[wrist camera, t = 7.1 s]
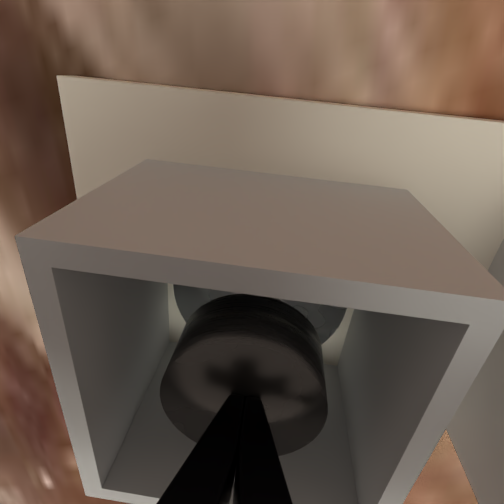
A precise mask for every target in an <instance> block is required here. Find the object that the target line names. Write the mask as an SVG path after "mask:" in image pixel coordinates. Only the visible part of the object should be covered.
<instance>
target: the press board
mask: <svg viewBox="0 0 504 504" xmlns="http://www.w3.org/2000/svg"><path fill="white" fill-rule="evenodd" d="M56 76H57V82H58V88H59V94H60V100H61V106H62V112H63V118H64V124H65V130H66V136H67V142H68V148H69V154H70V160H71V166H72V172H73V178H74V184H75V190H76V196H77V200H75V201H74V202H72V203H70V204H68V205H67V206H65V207H63V208H62V209H60V210H58V211H56V212H55V213H53V214H51V215H50V216H48V217H46V218H44V219H43V220H41V221H39V222H37V223H36V224H34V225H32V226H31V227H29V228H27V229H25V230H24V231H22V232H20V233H19V234H17V235H15V240H16V243H17V247H18V251H19V254H20V258H21V262H22V265H23V269H24V273H25V276H26V280H27V283H28V287H29V291H30V294H31V298H32V302H33V305H34V309H35V313H36V316H37V320H38V323H39V327H40V331H41V334H42V338H43V342H44V345H45V349H46V353H47V356H48V360H49V363H50V367H51V371H52V374H53V378H54V382H55V385H56V389H57V393H58V396H59V400H60V403H61V407H62V411H63V414H64V418H65V422H66V425H67V429H68V433H69V436H70V440H71V443H72V447H73V451H74V454H75V458H76V462H77V465H78V469H79V473H80V476H81V480H82V483H83V487H84V491H85V494H86V496H91V497H97V498H102V499H108V500H114V501H120V502H126V503H131V504H156V503H157V502H158V500H159V499H160V497H161V496H162V494H163V493H164V491H165V490H166V488H167V487H168V485H169V484H170V482H171V481H172V479H173V478H174V476H175V475H176V473H177V472H178V471H179V469H180V468H181V466H182V465H183V463H184V462H185V460H186V459H187V457H188V456H189V454H190V453H191V451H192V450H193V448H194V447H195V445H196V444H197V443H196V442H194V441H192V440H191V439H189V438H188V437H187V436H185V435H184V434H183V433H182V432H180V431H179V430H178V429H177V428H176V427H175V426H174V425H173V424H172V422H171V421H170V420H169V418H168V417H167V415H166V413H165V411H164V409H163V407H162V404H161V400H160V385H161V381H162V378H163V376H164V373H165V371H166V369H167V366H168V364H169V362H170V359H171V357H172V355H173V352H174V350H175V348H176V345H177V343H178V341H179V338H180V336H181V334H182V331H183V329H184V327H185V325H186V322H185V320H184V319H183V317H182V315H181V313H180V311H179V309H178V306H177V304H176V300H175V296H174V288H173V284H177V285H184V286H191V287H199V288H206V289H213V290H220V291H228V292H235V293H242V294H250V295H257V296H264V297H272V298H279V299H286V300H293V301H301V302H308V303H315V304H323V305H330V306H337V307H345V308H347V310H346V312H345V315H344V318H343V320H342V322H341V323H340V325H339V327H338V328H337V330H336V331H335V332H334V334H333V335H332V336H331V337H330V338H329V339H328V340H327V341H325V342H324V343H323V344H322V345H321V346H322V355H323V364H324V374H325V383H326V392H327V402H328V415H327V420H326V423H325V425H324V427H323V429H322V430H321V432H320V433H319V435H318V436H317V437H316V438H315V439H314V440H313V441H311V442H310V443H309V444H308V445H306V446H304V447H302V448H301V449H299V450H296V451H294V452H291V453H288V454H285V455H281V456H279V460H280V463H281V466H282V470H283V473H284V476H285V480H286V483H287V486H288V490H289V493H290V496H291V500H292V503H293V504H403V502H404V500H405V498H406V497H407V495H408V493H409V492H410V490H411V488H412V486H413V485H414V483H415V481H416V480H417V478H418V476H419V474H420V473H421V471H422V469H423V467H424V466H425V464H426V462H427V461H428V459H429V457H430V455H431V454H432V452H433V450H434V449H435V447H436V445H437V443H438V442H439V440H440V438H441V436H442V435H443V433H444V431H445V430H447V432H448V434H449V436H450V439H451V441H452V443H453V446H454V448H455V450H456V453H457V455H458V457H459V460H460V462H461V464H462V467H463V469H464V471H465V473H466V476H467V478H468V480H469V483H470V485H471V487H472V490H473V492H474V494H475V497H476V499H477V501H478V504H504V121H502V120H492V119H483V118H473V117H464V116H454V115H445V114H435V113H426V112H416V111H407V110H397V109H388V108H378V107H369V106H359V105H350V104H340V103H331V102H321V101H312V100H303V99H293V98H284V97H274V96H265V95H255V94H246V93H236V92H227V91H217V90H208V89H198V88H189V87H179V86H170V85H160V84H151V83H141V82H132V81H122V80H113V79H103V78H94V77H84V76H75V75H56ZM235 472H236V471H235ZM234 481H235V478H234ZM233 491H234V484H233V490H232V494H231V499H230V503H229V504H233Z"/></svg>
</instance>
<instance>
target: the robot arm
mask: <svg viewBox="0 0 504 504" xmlns="http://www.w3.org/2000/svg"><path fill="white" fill-rule="evenodd" d="M235 471H236V472H235ZM234 478H235V481H234ZM233 484H234V491H233V504H293V503H292V500H291V496H290V493H289V490H288V486H287V483H286V480H285V476H284V473H283V470H282V466H281V463H280V460H279V456H278V453H277V449H276V446H275V443H274V439H273V436H272V433H271V429H270V426H269V423H268V419H267V416H266V413H265V409H264V406H263V403H262V400H261V399H260V398H256V397H249V396H248V397H246V398H245V397H244V396H243V395H236V394H230V395H229V396H228V397H227V399H226V400H225V402H224V403H223V405H222V406H221V408H220V409H219V411H218V412H217V414H216V415H215V417H214V418H213V420H212V421H211V423H210V424H209V426H208V427H207V429H206V430H205V432H204V433H203V435H202V436H201V438H200V439H199V441H198V442H197V444H196V445H195V447H194V448H193V450H192V451H191V453H190V454H189V456H188V457H187V459H186V460H185V462H184V463H183V465H182V466H181V468H180V469H179V471H178V472H177V473H176V475H175V476H174V478H173V479H172V481H171V482H170V484H169V485H168V487H167V488H166V490H165V491H164V493H163V494H162V496H161V497H160V499H159V500H158V502H157V503H156V504H229V503H230V499H231V494H232V490H233Z"/></svg>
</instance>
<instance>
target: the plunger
mask: <svg viewBox="0 0 504 504" xmlns="http://www.w3.org/2000/svg"><path fill="white" fill-rule="evenodd" d="M173 288H174V296H175V300H176V304H177V306H178V309H179V311H180V313H181V315H182V317H183V319H184V320H185V322H186V325H185V327H184V329H183V331H182V334H181V336H180V338H179V341H178V343H177V345H176V348H175V350H174V352H173V355H172V357H171V359H170V362H169V364H168V366H167V369H166V371H165V373H164V376H163V378H162V381H161V385H160V400H161V404H162V407H163V409H164V411H165V413H166V415H167V417H168V418H169V420H170V421H171V422H172V424H173V425H174V426H175V427H176V428H177V429H178V430H179V431H180V432H182V433H183V434H184V435H185V436H187V437H188V438H189V439H191V440H192V441H194V442H196V443H197V442H198V441H199V439H200V438H201V436H202V435H203V433H204V432H205V430H206V429H207V427H208V426H209V424H210V423H211V421H212V420H213V418H214V417H215V415H216V414H217V412H218V411H219V409H220V408H221V406H222V405H223V403H224V402H225V400H226V399H227V397H228V396H229V395H230V394H236V395H243V396H244V397H245V398H246V397H248V396H249V397H256V398H260V399H261V400H262V403H263V406H264V409H265V413H266V416H267V419H268V423H269V426H270V429H271V433H272V436H273V439H274V443H275V446H276V449H277V453H278V456H281V455H285V454H288V453H291V452H294V451H296V450H299V449H301V448H302V447H304V446H306V445H308V444H309V443H310V442H311V441H313V440H314V439H315V438H316V437H317V436H318V435H319V433H320V432H321V430H322V429H323V427H324V425H325V423H326V420H327V415H328V402H327V392H326V383H325V374H324V364H323V355H322V346H321V345H322V344H323V343H324V342H325V341H327V340H328V339H329V338H330V337H331V336H332V335H333V334H334V332H335V331H336V330H337V328H338V327H339V325H340V323H341V322H342V320H343V318H344V315H345V312H346V310H347V308H345V307H337V306H330V305H323V304H315V303H308V302H301V301H293V300H286V299H279V298H272V297H264V296H257V295H250V294H242V293H235V292H228V291H220V290H213V289H206V288H199V287H191V286H184V285H177V284H173Z"/></svg>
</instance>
